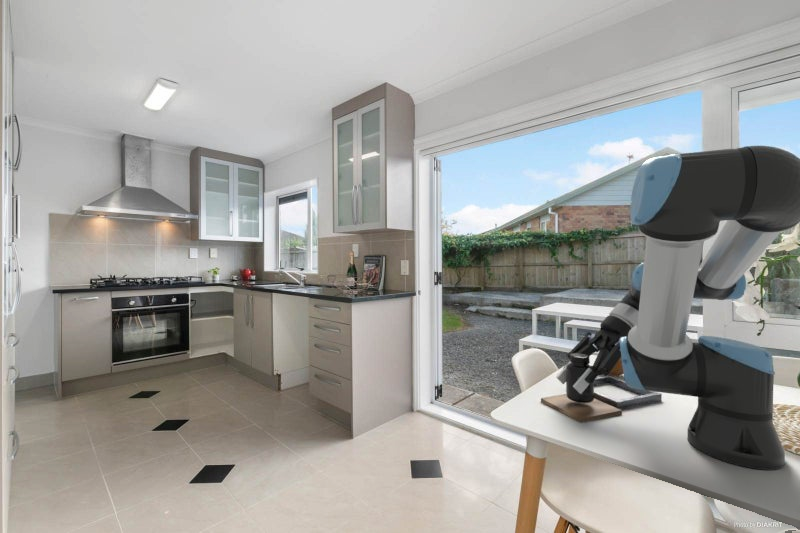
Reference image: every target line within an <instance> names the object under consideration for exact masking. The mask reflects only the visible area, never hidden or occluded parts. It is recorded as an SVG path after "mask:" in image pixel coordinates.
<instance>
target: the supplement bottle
mask: <svg viewBox="0 0 800 533" xmlns="http://www.w3.org/2000/svg"><path fill="white" fill-rule="evenodd" d="M569 360H570V362H571V363H569V364H568V365H567V366H566V382H565V388H566V389H565V392H566V393H565V394H566V395H567V398H568V399H570V400H572V401H575V402H580V403H590V402H592V401H593V400H594V391H595V386H594V381H593V382H592V383H591V384H589V385H588V386H587V388H586V389H585V390H584V391H583V392H582V394H580V393H579V392H578V391H577V390H576V389H575V388H574V387H573V385H574V384H575V383H576V382H577V381H578V379H579V378H580V377H581V376H582V375H583V374H584V372H585V371H586V370H587V369H588V368H590V366H591V365H590V363H591V361H590V356H588V355H586V354H579V353H573V354H570V359H569ZM590 369H591V368H590ZM591 370H592V369H591Z"/></svg>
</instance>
